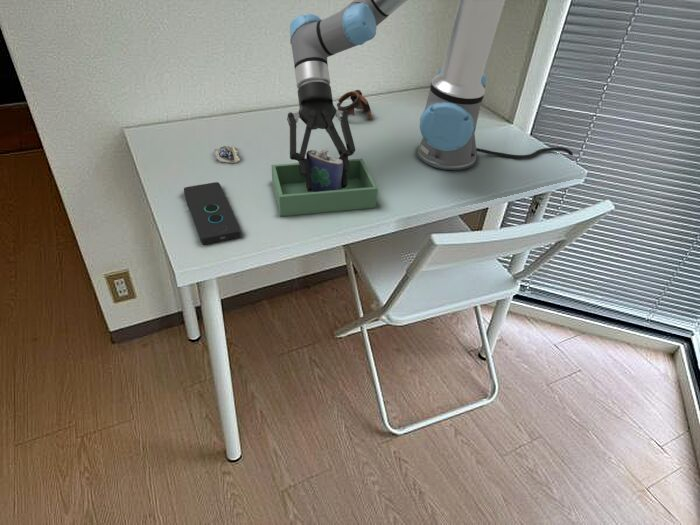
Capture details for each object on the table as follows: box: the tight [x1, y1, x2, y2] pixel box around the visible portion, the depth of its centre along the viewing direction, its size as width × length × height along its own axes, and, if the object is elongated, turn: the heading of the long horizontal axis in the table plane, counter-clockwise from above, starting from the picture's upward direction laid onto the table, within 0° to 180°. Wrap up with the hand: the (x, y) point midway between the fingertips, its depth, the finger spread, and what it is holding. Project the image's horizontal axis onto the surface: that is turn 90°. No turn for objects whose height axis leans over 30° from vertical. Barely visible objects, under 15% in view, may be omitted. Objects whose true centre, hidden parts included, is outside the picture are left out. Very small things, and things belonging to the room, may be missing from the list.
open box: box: [271, 158, 379, 217], centre depth 116 cm, size 22×14×5 cm, turn 104°
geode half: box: [213, 145, 241, 164], centre depth 129 cm, size 7×8×2 cm
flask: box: [305, 148, 343, 192], centre depth 114 cm, size 9×3×11 cm, turn 60°
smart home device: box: [183, 181, 242, 246], centre depth 109 cm, size 8×2×20 cm
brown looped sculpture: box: [336, 89, 372, 121], centre depth 151 cm, size 12×10×8 cm
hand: (327, 187), depth 113 cm, fingers closed on flask, 7 cm apart
